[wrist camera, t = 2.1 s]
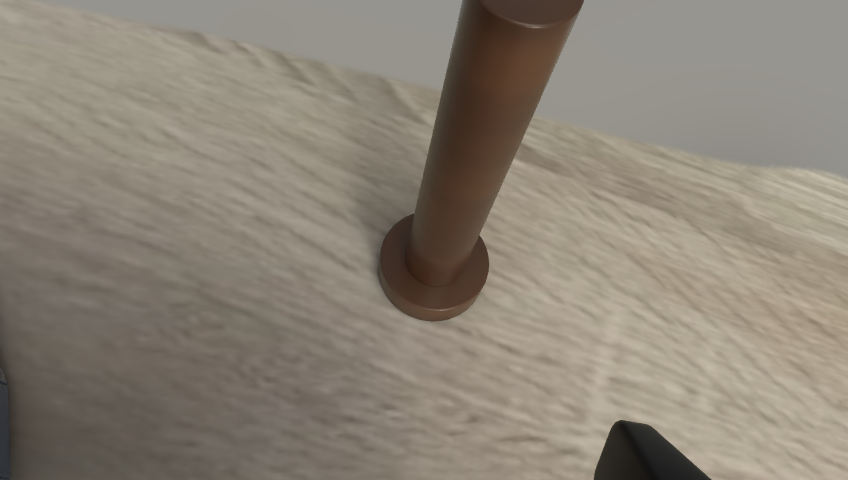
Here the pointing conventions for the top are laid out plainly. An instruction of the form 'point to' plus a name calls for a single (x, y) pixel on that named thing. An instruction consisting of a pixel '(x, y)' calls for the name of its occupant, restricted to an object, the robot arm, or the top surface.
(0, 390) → the bowl
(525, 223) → the top surface
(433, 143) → the stirring stick
